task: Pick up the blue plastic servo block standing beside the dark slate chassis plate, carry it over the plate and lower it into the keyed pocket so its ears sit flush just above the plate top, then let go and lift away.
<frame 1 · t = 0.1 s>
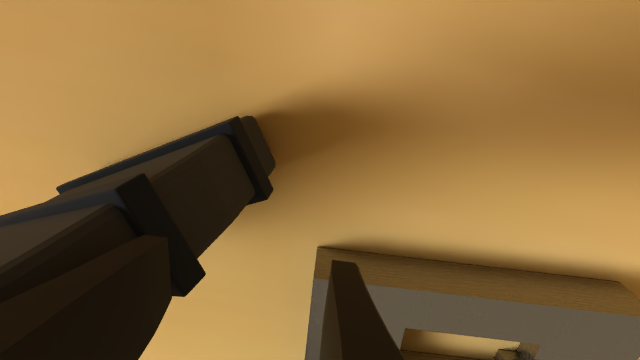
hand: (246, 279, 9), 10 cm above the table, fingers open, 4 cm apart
chassis: (447, 327, 23), on the table
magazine: (168, 175, 20), on the table, touching gripper
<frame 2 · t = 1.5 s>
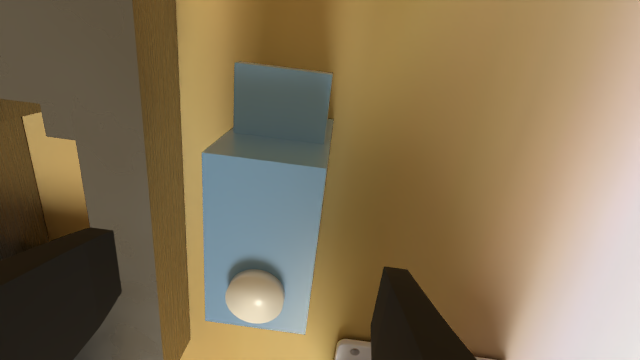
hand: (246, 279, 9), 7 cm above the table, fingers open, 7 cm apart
chassis: (83, 189, 17), on the table
servo: (288, 178, 16), on the table
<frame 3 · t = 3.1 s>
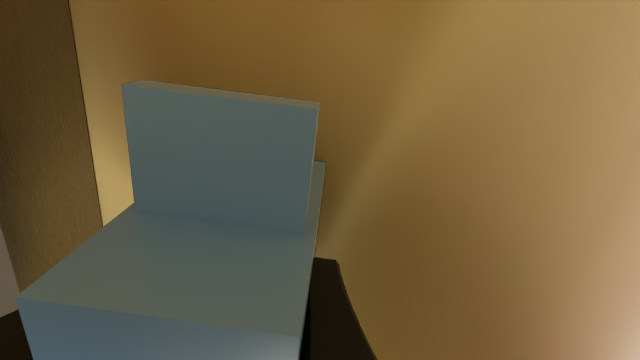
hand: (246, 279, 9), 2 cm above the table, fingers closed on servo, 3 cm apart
servo: (260, 245, 11), on the table, touching gripper
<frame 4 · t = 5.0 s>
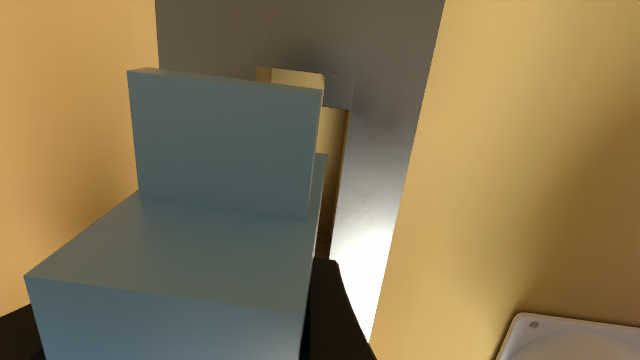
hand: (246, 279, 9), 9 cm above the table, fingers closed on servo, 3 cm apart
chassis: (292, 165, 17), on the table
servo: (261, 237, 11), point 7 cm above the table, touching gripper
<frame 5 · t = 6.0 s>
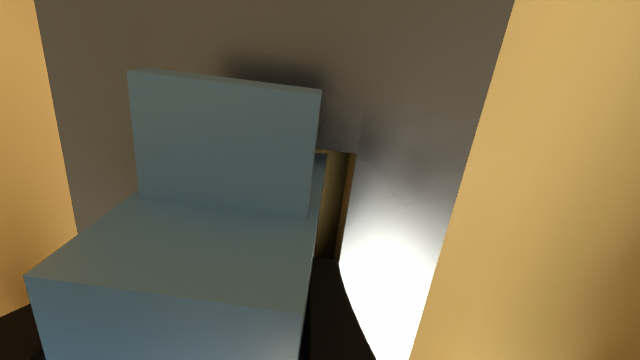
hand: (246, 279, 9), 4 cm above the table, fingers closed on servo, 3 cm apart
chassis: (272, 215, 13), on the table
servo: (261, 237, 11), point 2 cm above the table, touching gripper
when the fingers open (3 cm above the table, at t = 6.8 s): servo drops 2 cm, resting in chassis.
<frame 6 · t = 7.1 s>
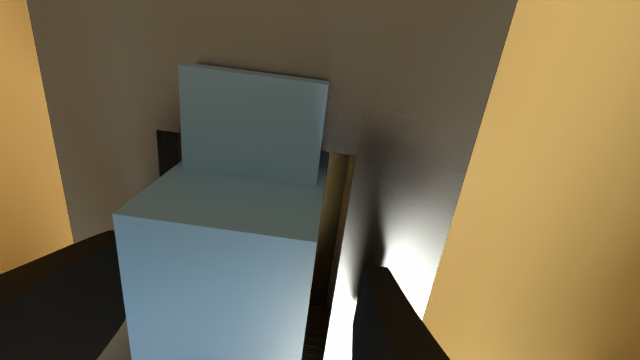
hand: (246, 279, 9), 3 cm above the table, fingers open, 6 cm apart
chassis: (271, 217, 12), on the table
servo: (273, 214, 12), resting in chassis
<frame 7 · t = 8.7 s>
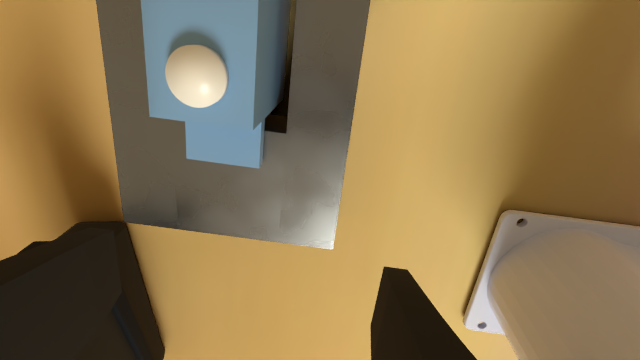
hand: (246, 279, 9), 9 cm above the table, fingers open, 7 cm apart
chassis: (250, 30, 16), on the table
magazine: (132, 305, 23), on the table
servo: (251, 27, 16), resting in chassis
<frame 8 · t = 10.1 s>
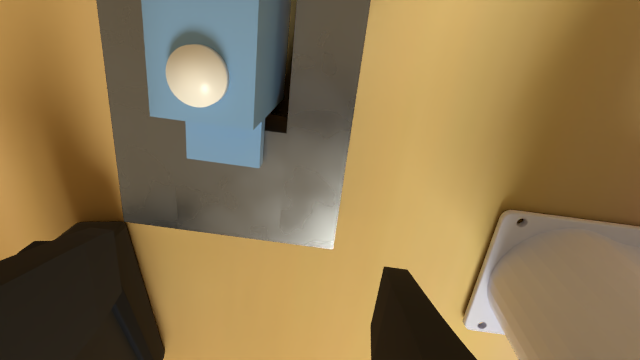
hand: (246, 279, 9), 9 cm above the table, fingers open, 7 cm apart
chassis: (250, 30, 16), on the table
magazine: (132, 304, 23), on the table
servo: (251, 26, 16), resting in chassis
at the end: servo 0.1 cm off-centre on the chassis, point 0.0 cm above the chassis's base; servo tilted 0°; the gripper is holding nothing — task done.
